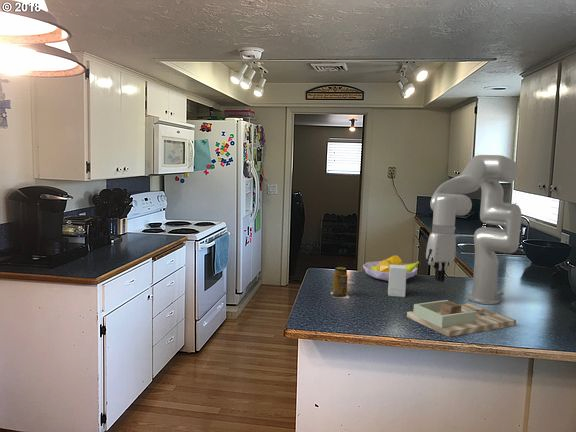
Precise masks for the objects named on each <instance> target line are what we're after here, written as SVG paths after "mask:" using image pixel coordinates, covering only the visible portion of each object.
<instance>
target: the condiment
mask: <svg viewBox="0 0 576 432" xmlns="http://www.w3.org/2000/svg"><path fill="white" fill-rule="evenodd" d="M348 277H349V276H348V269H347V267H344V266H337V267H335V268H334V273H333V279H332V280H333V281H332V283H333V284H332V285H333V286H332V291H331V292H330V295H331V297H332V298H335V299H350V296H349V295H348Z"/></svg>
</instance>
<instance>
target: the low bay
mask: <svg viewBox="0 0 576 432" xmlns="http://www.w3.org/2000/svg"><path fill="white" fill-rule="evenodd" d="M446 302H450V300H448V299H444V300H443V299H442V300H435V301H429V302H423V303H422V302H420V303H414V304H413V310H412V311H413V315H415V316H417V317H419V318H421V319H424V320H426V321H428V322H430V323H432V324H434V325H437V326H439V327H441V328H444V327H451V326H457V325H463V324H469V323H475V322H476V319H477V311H470V312H463V313H456V314H449V315H441V314H438V313H436V312H441V303H446Z"/></svg>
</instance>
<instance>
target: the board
mask: <svg viewBox="0 0 576 432" xmlns="http://www.w3.org/2000/svg"><path fill="white" fill-rule="evenodd" d="M460 305H461V306H462V307H461V313H463V312H470V311H477V319H476V322H475V323H469V324H463V325H457V326H451V327H444V328H441V327H439V326H437V325H434V324H432V323H430V322H428V321H426V320H424V319H421V318H419V317H417V316H415V315H413V311H414V310H411V311H407V312H406V318H408V319H410V320H412V321H415V322H416V323H419V324H420V325H422V326H425V327H426V328H429V329H431V330H433V331H435V332H437V333H440V334H441V335H444V336H446V337H448V338H451V337H456V336H463V335H468V334H475V333H479V332H485V331H491V330H496V329H497V330H498V329H503V328H509V327H513V326H514V327H515V326H516V325H517V320H516V319H513V318H511V317H508V316H506V315H503V314H501V313H498V312H495V311H493V310H490V309H487V308H484V307H483V306H478V305H476V304H473V303H470V302H468V303H463V304H460ZM436 313H438V314H441V312H436Z"/></svg>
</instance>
